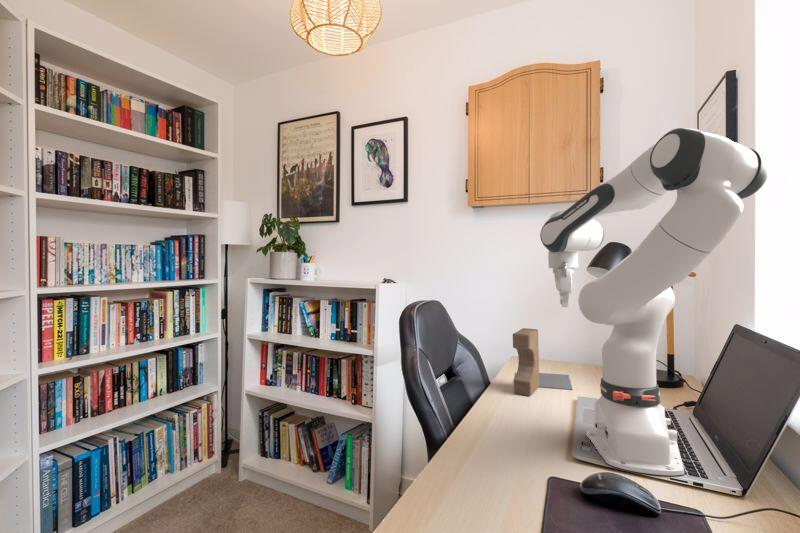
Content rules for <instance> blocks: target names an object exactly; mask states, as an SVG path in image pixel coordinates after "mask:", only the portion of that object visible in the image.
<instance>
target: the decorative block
mask: <svg viewBox="0 0 800 533" xmlns="http://www.w3.org/2000/svg"><path fill="white" fill-rule="evenodd" d="M512 348H513V349H516V351H517V357H518V367H517V375H516V374H515V376H516V377H515V376H514V379H513V393H514V394H515V395H519V394H520V395H521V396H527V397H531V396H532V395H533V394H534V393H535V392H536V391H537V389H538V388H539V373H540V360H539V358H540V355H539V354H540V353H539V330H538V329H537V328H528V327H527V328H525V327H523V328H521V329H519V330H518V331H515V332H514V333H513V334H512Z"/></svg>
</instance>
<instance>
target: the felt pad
mask: <svg viewBox="0 0 800 533" xmlns="http://www.w3.org/2000/svg"><path fill="white" fill-rule="evenodd" d="M516 375H517V373H516V372H515V376H514V378H515V377H516ZM538 388H540V389H541V388H542V389H555V390H568V391H573V386H572V383H571V379H570V375H569V374H563V373H561V374H560V373H547V372H539V387H538Z"/></svg>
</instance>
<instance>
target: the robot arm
mask: <svg viewBox="0 0 800 533" xmlns="http://www.w3.org/2000/svg"><path fill="white" fill-rule="evenodd" d="M770 170H771V167H770V162H769V160H768V159H767V157H765V156H764V155H763V154H761V153H760V152H759V151H757V150H755V149H753V148H751V147H749V148H748V147H746V146H744V145H742V144H740V143H737V142H736V141H735V142H734V141H732V140H731V139H729V138H728V137H726V136H725V137H724V136H721V135H718V134H715V133H709V132H704V131H701V130H700V129H696V128H690V127H688V128H687V127H680V128H673V129H672V130H669V131H667V132H666V133H665V134H664V135H663V136H662V137H660V138H659V140H658V141H657V142H656V143H655V144H653V145H652V146H650V147H649V148H648V149H647V150H645V151H643V153H641V154H640V155H639V156H638V157H637V158H635V159H634V160H633V161H632V162H631V163H630V164H629V165H628V166H627V167H626V168H623V169H622V170H621V171H620V172H619V173H617V174H616V175H615V176H614V177H613V176H612V178H610V179H609V180H607V181H605V182H604V183H602V184H600V185H599V186H597V187H595V188H594V189H592V190H591V191H588V193H586V194H585V195H584V196H582V197H581V198H580V199H579V200H577V201H576V202H575V203H573V204H572V205H571V206H570V207H568V208H567V209H565V210H561V211H557V212H555V213H553V214H551V215H550V216H549V218H548V220H547V221H545V223H543V226H542V227H541V230H540V236H539V237H540V241H541V244H542V245H543V246H544V248H546V249H547V251H548V253H547V254H548V255H547V257H548V258H547V259H548V269H552V274H553V276H554V282H555V287H556V290H557V292H559V301H560V302H559V303H560V305H561V307H563V308H568V307H569V298H570V294H571V293H573V274H574V273H575V268H577V269H578V268H579V252H587V251H589V252H590V251H594V250H596V249H598V248H600V246H601V245H602V243H603V241H604V237H605V232H604V228H603V226H602V223H601V222H600V221H598V220H597V219H596V218H598V217H601V216H603V215H606V214H607V215H608V214H611V213H615V212H616V213H617V212H625V211H633V210H634V211H635V210H642V209H645V208H647V207H649V206H651V205H654V204H655V203H657V202H658V201H660V200H661V199H663V198H664V197H665V196H667V195H668V194H669V193H671V192H673V191H676V199H675V201H674V203H673V205H672V206H671V208H670V209H669V210H668V211H667V213H665V214H664V216H663V217H662V218H661V219H660V220H659V221H658V222H657V224H656V225H655V226H654V228H653V229H651V231H650V232H649V233H648V234H647V236H645V238H644V239H643V240H642V241H641V243H640V244H638V246H637V247H636V248H634V250H633V251H632V252H631V253H629V254H628V255H627V256H626V257H624V258H623V259H622V260H621V261H619V262H618V263H617V264H615V265H614V266H613V267H612V268H611V269H610V270H608V271H607V272H606V273H604V274H602V275H601V276H600V277H598V278H596V279H595V280H592V281H590V282H588V283H587V284H585V285H584V286H583V287H582V288H581V289H580V292H579V294H578V307H579V310H580V311H581V314H582V316H583V317H585V319H586V320H588V321H590V322H592V323H595V324H600V325H606V326H613V328H612V331H611V334H610V335H609V337H608V338H607V339H606V341H605V342H604V343H603V346H602V348H601V363H602V364H601V366H602V367H601V368H602V372H601V373H602V377H601V378H600V383H599V387H600V394H601V396H600V397H599V398H598V399H597V400H595V402H594V403H593V404H594V405H593V429H590V430H587V431H586V432H585V433H586V434H585V436H586V435H587V437H588V438H589V439H590V440H591V442H592V443H593V444H594V446H595V447H596V448H595V447H594V446H593V447H594V448H595V450H596V449H597V450H598V451H597V450H596V451H597V452H598V453H599V455H600V456H601V457H602V459H603V460H604V461H605V462H606V463H607V465H610V466H612V467H615V468H619V469H622V470H626V471H630V472H636V473H642V474H649V475H656V476H658V475H659V476H668V477H669V476H670V477H671V476H674V477H675V476H682V475H685V469H684V465H683V461H682V456H681V453H680V448H679V445H678V432H677V430H676V429H668V425H669V426H671V424H672V420H671V418H669V417H668V418H667V417H666V411H665V410H666V409H665V407H664V406H663V405H662V404H661V391H660V388H659V384H658V383H657V353H658V352H657V350H658V344H659V341H660V336H661V333H662V329H663V326H664V324H665V321H666V318H667V316H668V315H669V314H670V312H671V311H672V310H673V309H674V308H675V307H674V306H675V302H676V297H675V296H676V295H675V293H674V290H673V288H672V287H673V286H675V285H677V284H680V283H681V282H683V281H685V279H686V278H687V277H689V275H690V274H691V273H693V271H695V270H696V268H698V266H700V264H701V263H702V262H703V261H704V260H705V259H706V258H707V257H708V256H709V255H710V254H711V253H712V252H713V251H714V250H715V249H716V248H717V247H718V246H719V245H720V244H721V243H722V242H723V241H724V240H725V238H726V237H727V235H728V234H730V232H731V230H732V229H733V227H734V226H735V225H736V224H737V221H738V220H739V218H740V217H741V215H742V214H743V211H744V203H743V201H742V200H743V199H746V198H748V197H751V196H752V195H754V194H755V193H757V192H758V191H759V190H760V189H761V188H762V187H763V186H764V184H766V182H767V180H768V178H769V175H770V172H771V171H770ZM587 437H586V438H587ZM588 438H587V439H588ZM589 439H588V440H589ZM590 440H589V441H590ZM591 442H590V443H591ZM592 443H591V444H592ZM593 444H592V445H593Z"/></svg>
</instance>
